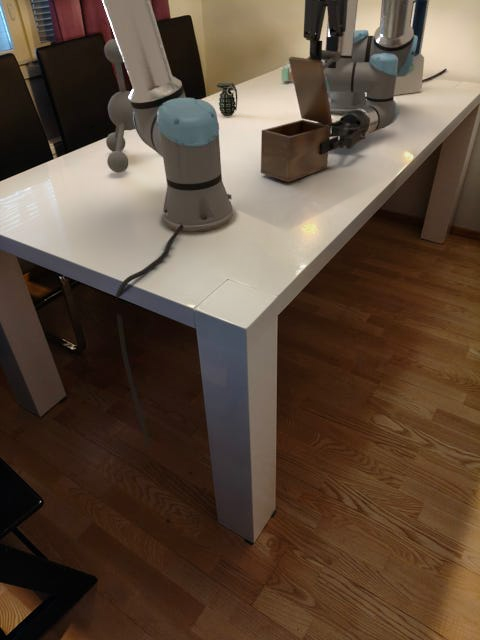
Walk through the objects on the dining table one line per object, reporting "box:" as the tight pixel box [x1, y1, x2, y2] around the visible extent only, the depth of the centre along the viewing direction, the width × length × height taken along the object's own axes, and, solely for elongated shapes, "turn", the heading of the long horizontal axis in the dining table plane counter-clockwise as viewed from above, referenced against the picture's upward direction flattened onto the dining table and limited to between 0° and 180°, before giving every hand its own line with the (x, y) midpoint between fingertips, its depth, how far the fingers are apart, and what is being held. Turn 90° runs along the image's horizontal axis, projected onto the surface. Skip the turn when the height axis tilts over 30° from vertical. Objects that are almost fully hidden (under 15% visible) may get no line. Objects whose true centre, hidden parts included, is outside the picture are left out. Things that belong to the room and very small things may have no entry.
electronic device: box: [394, 0, 430, 96], centre depth 174 cm, size 12×8×30 cm, turn 105°
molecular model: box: [103, 38, 136, 174], centre depth 130 cm, size 24×22×30 cm
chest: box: [260, 119, 332, 183], centre depth 122 cm, size 15×9×10 cm, turn 133°
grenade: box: [215, 82, 238, 117], centre depth 166 cm, size 7×6×10 cm
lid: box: [288, 49, 340, 125], centre depth 118 cm, size 16×9×8 cm
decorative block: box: [281, 60, 324, 83], centre depth 206 cm, size 26×6×20 cm
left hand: (322, 69), depth 117 cm, fingers open, 5 cm apart
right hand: (305, 144), depth 124 cm, fingers closed on chest, 9 cm apart
